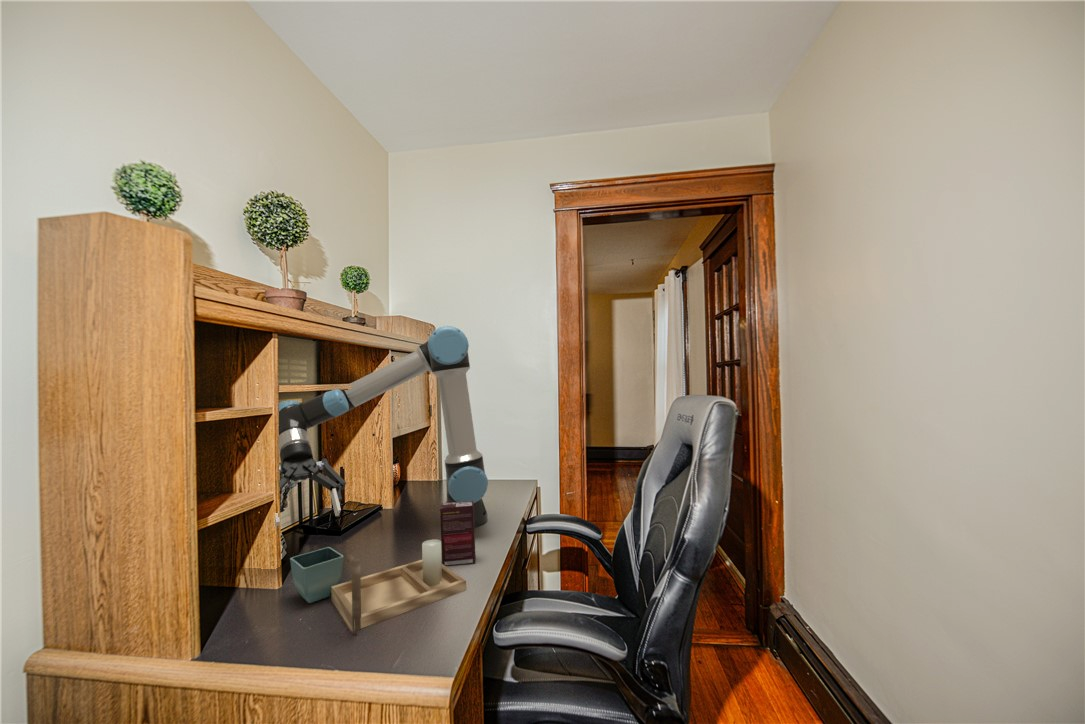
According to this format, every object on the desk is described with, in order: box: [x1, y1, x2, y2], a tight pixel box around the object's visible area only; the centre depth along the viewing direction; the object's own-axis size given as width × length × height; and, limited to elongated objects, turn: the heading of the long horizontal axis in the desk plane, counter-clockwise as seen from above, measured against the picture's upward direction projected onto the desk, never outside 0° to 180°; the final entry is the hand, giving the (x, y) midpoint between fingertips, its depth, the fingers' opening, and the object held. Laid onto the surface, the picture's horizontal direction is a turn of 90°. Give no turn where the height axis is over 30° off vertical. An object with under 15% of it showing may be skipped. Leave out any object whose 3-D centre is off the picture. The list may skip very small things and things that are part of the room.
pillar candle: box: [421, 539, 442, 586], centre depth 104 cm, size 4×4×9 cm
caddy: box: [330, 553, 467, 637], centre depth 99 cm, size 24×18×14 cm
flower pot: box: [289, 546, 344, 604], centre depth 101 cm, size 9×9×9 cm
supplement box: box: [439, 501, 477, 568], centre depth 115 cm, size 9×5×16 cm, turn 98°
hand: (308, 518), depth 109 cm, fingers open, 13 cm apart
